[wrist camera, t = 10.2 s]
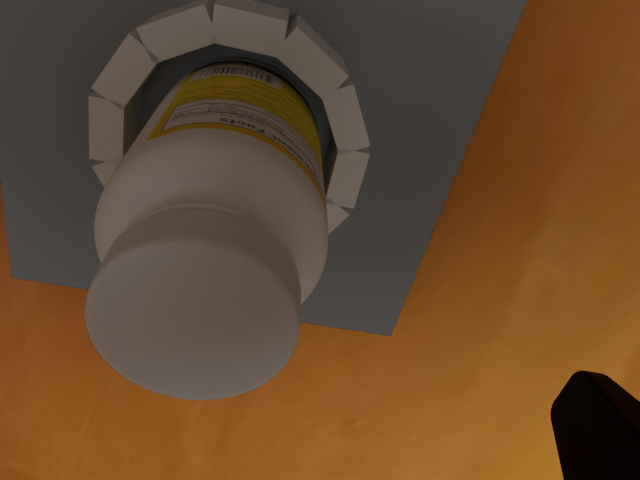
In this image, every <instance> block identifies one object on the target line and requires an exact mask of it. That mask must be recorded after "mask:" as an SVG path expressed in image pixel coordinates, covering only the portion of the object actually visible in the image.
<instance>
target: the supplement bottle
mask: <svg viewBox="0 0 640 480" xmlns="http://www.w3.org/2000/svg"><path fill="white" fill-rule="evenodd" d="M94 236H95V244H96V249H97V252H98V256H99V259H100V262H101V265H100V267H99V269H98V271H97V273H96V275H95V277H94V279H93V281H92V283H91V285H90V288H89V290H88V293H87V297H86V302H85V321H86V327H87V331H88V334H89V337H90V339H91V341H92V343H93V345H94V347H95V348H96V350H97V351H98V353H99V354H100V356H101V357H102V358H103V359H104V360H105V361H106V362H107V364H109V365H110V366H111V367H112V368H113V369H114V370H115V371H116V372H118V373H119V374H120V375H121V376H123V377H125V378H126V379H127V380H129V381H131V382H133V383H135V384H137V385H139V386H141V387H143V388H145V389H148V390H150V391H153V392H156V393H158V394H162V395H166V396H170V397H174V398H181V399H189V400H212V399H222V398H227V397H233V396H236V395H240V394H243V393H246V392H248V391H251V390H253V389H255V388H257V387H259V386H261V385H263V384H265V383H266V382H268V381H269V380H271V379H272V378H273V377H274V376H275V375H277V374H278V373H279V372H280V371H281V370H282V369H283V368H284V367H285V365H286V364H287V363H288V361H289V360H290V358H291V356H292V355H293V352H294V350H295V347H296V345H297V342H298V338H299V333H300V306H301V304H302V303H303V302H304V301H305V300H306V299H307V298H308V296H309V295H310V294H311V293H312V291H313V289H314V288H315V286H316V284H317V283H318V281H319V279H320V277H321V274H322V272H323V269H324V266H325V263H326V258H327V252H328V219H327V209H326V200H325V189H324V179H323V170H322V160H321V150H320V141H319V133H318V128H317V124H316V120H315V117H314V114H313V111H312V109H311V107H310V105H309V103H308V101H307V99H306V98H305V96H304V95H303V93H302V92H301V91H300V90H299V89H298V87H297V86H296V85H295V84H294V83H293V82H292V81H291V80H290V79H289V78H287V77H286V76H285V75H283V74H282V73H280V72H279V71H277V70H276V69H274V68H272V67H270V66H267V65H265V64H262V63H260V62H256V61H253V60H247V59H239V58H226V59H219V60H214V61H210V62H207V63H204V64H202V65H200V66H198V67H196V68H194V69H192V70H191V71H189V72H188V73H186V74H185V75H184V76H183V77H181V78H180V79H179V80H178V81H177V82H176V83H175V85H174V86H173V87H172V88H171V89H170V91H169V92H168V93H167V95H166V96H165V97H164V98H163V100H162V101H161V103H160V104H159V106H158V107H157V109H156V110H155V112H154V113H153V114H152V116H151V118H150V119H149V120H148V122H147V123H146V125H145V126H144V128H143V129H142V131H141V132H140V133H139V135H138V136H137V138H136V139H135V141H134V142H133V144H132V145H131V147H130V148H129V150H128V151H127V153H126V154H125V156H124V157H123V159H122V160H121V162H120V163H119V164H118V166H117V167H116V169H115V171H114V172H113V174H112V175H111V177H110V178H109V180H108V182H107V184H106V186H105V188H104V190H103V192H102V194H101V196H100V199H99V202H98V205H97V209H96V214H95V221H94Z"/></svg>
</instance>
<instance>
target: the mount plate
mask: <svg viewBox="0 0 640 480" xmlns="http://www.w3.org/2000/svg"><path fill="white" fill-rule="evenodd" d="M526 1H527V0H0V179H1V188H2V197H3V206H4V215H5V224H6V233H7V242H8V251H9V260H10V269H11V278H17V279H23V280H30V281H36V282H43V283H49V284H56V285H62V286H69V287H75V288H82V289H88V290H89V288H90V285H91V283H92V281H93V279H94V277H95V275H96V273H97V271H98V269H99V267H100V265H101V262H100V259H99V256H98V252H97V249H96V244H95V236H94V221H95V214H96V209H97V205H98V202H99V199H100V196H101V194H102V192H103V190H104V188H105V186H106V184H107V182H108V180H109V178H110V177H111V175H112V174H113V172H114V171H115V169H116V167H117V166H118V164H119V163H120V162H121V160H122V159H123V157H124V156H125V154H126V153H127V151H128V150H129V148H130V147H131V145H132V144H133V142H134V141H135V139H136V138H137V136H138V135H139V133H140V132H141V131H142V129H143V128H144V126H145V125H146V123H147V122H148V120H149V119H150V118H151V116H152V114H153V113H154V112H155V110H156V109H157V107H158V106H159V104H160V103H161V101H162V100H163V98H164V97H165V96H166V95H167V93H168V92H169V91H170V89H171V88H172V87H173V86H174V85H175V83H176V82H177V81H178V80H179V79H180V78H181V77H183V76H184V75H185V74H186V73H188V72H189V71H191V70H192V69H194V68H196V67H198V66H200V65H202V64H204V63H207V62H210V61H214V60H219V59H226V58H239V59H247V60H253V61H256V62H260V63H262V64H265V65H267V66H270V67H272V68H274V69H276V70H277V71H279V72H280V73H282V74H283V75H285V76H286V77H287V78H289V79H290V80H291V81H292V82H293V83H294V84H295V85H296V86H297V87H298V89H299V90H300V91H301V92H302V93H303V95H304V96H305V98H306V99H307V101H308V103H309V105H310V107H311V109H312V111H313V114H314V117H315V120H316V124H317V128H318V133H319V141H320V150H321V160H322V170H323V179H324V189H325V200H326V209H327V219H328V252H327V258H326V263H325V266H324V269H323V272H322V274H321V277H320V279H319V281H318V283H317V284H316V286H315V288H314V289H313V291H312V293H311V294H310V295H309V296H308V298H307V299H306V300H305V301H304V302H303V303H302V304H301V306H300V322H302V323H309V324H315V325H322V326H328V327H335V328H341V329H348V330H354V331H361V332H367V333H374V334H380V335H387V336H391V334H392V331H393V329H394V327H395V324H396V322H397V319H398V317H399V314H400V312H401V309H402V307H403V304H404V302H405V299H406V297H407V294H408V292H409V290H410V287H411V285H412V282H413V280H414V277H415V275H416V272H417V270H418V267H419V265H420V262H421V260H422V257H423V255H424V253H425V250H426V248H427V245H428V243H429V240H430V238H431V235H432V233H433V230H434V228H435V225H436V223H437V220H438V218H439V215H440V213H441V211H442V208H443V206H444V203H445V201H446V198H447V196H448V193H449V191H450V188H451V186H452V183H453V181H454V178H455V176H456V174H457V171H458V169H459V166H460V164H461V161H462V159H463V156H464V154H465V151H466V149H467V146H468V144H469V141H470V139H471V137H472V134H473V132H474V129H475V127H476V124H477V122H478V119H479V117H480V114H481V112H482V109H483V107H484V104H485V102H486V100H487V97H488V95H489V92H490V90H491V87H492V85H493V82H494V80H495V77H496V75H497V72H498V70H499V67H500V65H501V63H502V60H503V58H504V55H505V53H506V50H507V48H508V45H509V43H510V40H511V38H512V35H513V33H514V30H515V28H516V26H517V23H518V21H519V18H520V16H521V13H522V11H523V8H524V6H525V3H526Z"/></svg>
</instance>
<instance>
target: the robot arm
mask: <svg viewBox="0 0 640 480" xmlns="http://www.w3.org/2000/svg"><path fill="white" fill-rule="evenodd" d="M551 422H552V426H553V431H554V436H555V441H556V445H557V450H558V455H559V459H560V464H561V469H562V473H563V478H564V480H640V402H639V401H638V400H637V399H636V398H634V397H633V396H632V395H631V394H629V393H628V392H627V391H626V390H624V389H623V388H622V387H621V386H619V385H618V384H617V383H616V382H614V381H613V380H612V379H611V378H609V377H608V376H606V375H604V374H601V373H596V372H589V371H578V372H576V373H574V374H573V375H572V376H571V378H570V379H569V381H568V382H567V383H566V385H565V386H564V388H563V389H562V391H561V392H560V394H559V395H558V396H557V398H556V399H555V401H554V403H553V405H552V408H551Z"/></svg>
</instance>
